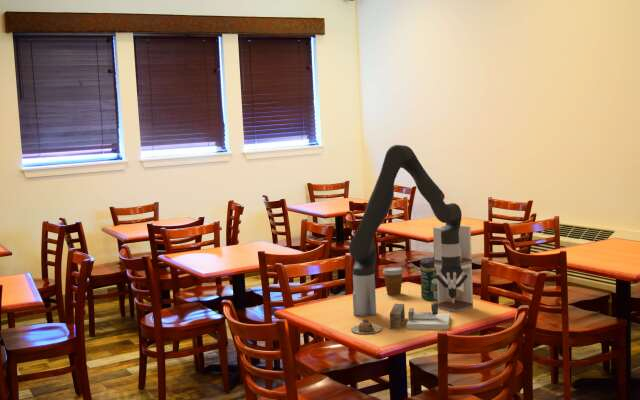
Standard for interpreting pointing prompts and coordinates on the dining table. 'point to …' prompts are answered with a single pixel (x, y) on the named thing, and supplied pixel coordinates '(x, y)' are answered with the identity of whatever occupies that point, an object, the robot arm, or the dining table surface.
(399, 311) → the block
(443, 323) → the door board
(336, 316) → the dining table surface
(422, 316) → the bolt
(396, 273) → the disposable coffee cup
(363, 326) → the pastry
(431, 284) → the coffee jar
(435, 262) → the display case
